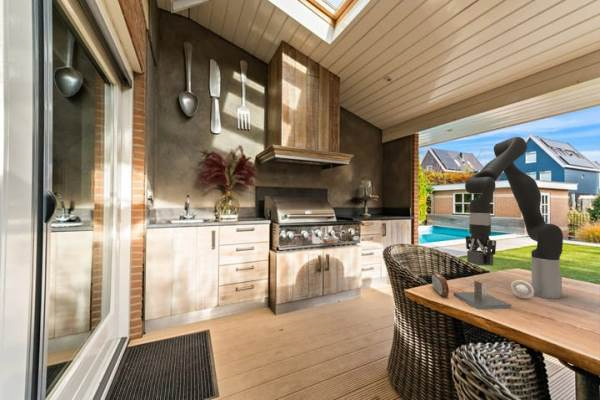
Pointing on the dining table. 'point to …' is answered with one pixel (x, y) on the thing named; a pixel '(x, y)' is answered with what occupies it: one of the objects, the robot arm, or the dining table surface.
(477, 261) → the dark grey open box
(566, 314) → the dining table surface
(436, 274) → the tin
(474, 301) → the shaft base
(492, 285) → the dining table surface
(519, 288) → the ring around a ball
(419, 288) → the dining table surface
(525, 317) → the dining table surface
